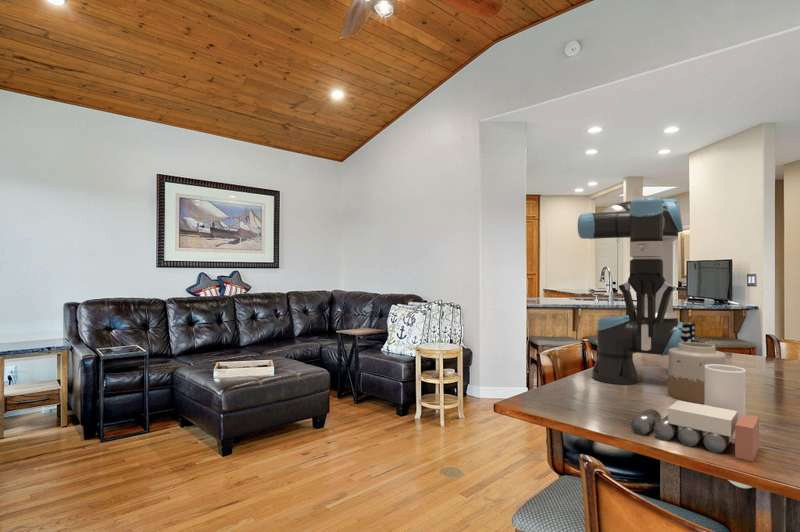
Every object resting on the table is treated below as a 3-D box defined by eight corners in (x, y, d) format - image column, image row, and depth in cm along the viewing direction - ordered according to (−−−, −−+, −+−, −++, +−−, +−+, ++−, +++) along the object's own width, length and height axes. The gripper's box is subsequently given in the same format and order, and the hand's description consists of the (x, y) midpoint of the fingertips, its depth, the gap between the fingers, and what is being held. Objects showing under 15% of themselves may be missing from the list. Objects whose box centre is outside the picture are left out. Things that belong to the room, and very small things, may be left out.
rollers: (631, 432, 110) (631, 416, 111) (643, 422, 118) (643, 407, 118) (725, 455, 97) (725, 436, 97) (733, 442, 104) (733, 425, 104)
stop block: (735, 457, 96) (735, 424, 96) (742, 444, 103) (742, 414, 103) (752, 461, 94) (752, 428, 94) (759, 448, 101) (759, 417, 101)
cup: (696, 427, 115) (696, 364, 115) (726, 426, 115) (726, 363, 115) (722, 439, 106) (722, 371, 107) (754, 438, 107) (754, 371, 107)
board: (668, 423, 105) (668, 408, 105) (677, 414, 112) (677, 400, 112) (730, 436, 97) (730, 420, 97) (737, 426, 103) (737, 411, 103)
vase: (732, 398, 140) (732, 345, 140) (717, 408, 130) (717, 350, 131) (677, 388, 152) (677, 339, 152) (660, 396, 142) (660, 343, 142)
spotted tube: (686, 379, 164) (686, 324, 164) (664, 374, 171) (664, 322, 172) (699, 377, 168) (700, 323, 168) (677, 372, 175) (677, 321, 175)
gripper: (614, 258, 118) (614, 348, 118) (671, 258, 109) (670, 355, 109) (624, 258, 123) (624, 344, 123) (678, 258, 114) (678, 350, 114)
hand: (646, 349), depth 116 cm, fingers closed
